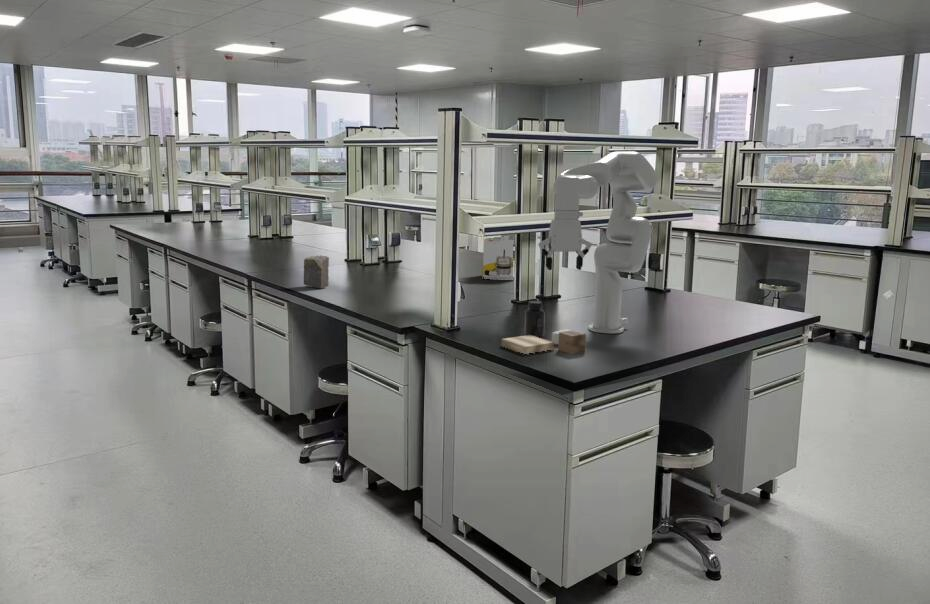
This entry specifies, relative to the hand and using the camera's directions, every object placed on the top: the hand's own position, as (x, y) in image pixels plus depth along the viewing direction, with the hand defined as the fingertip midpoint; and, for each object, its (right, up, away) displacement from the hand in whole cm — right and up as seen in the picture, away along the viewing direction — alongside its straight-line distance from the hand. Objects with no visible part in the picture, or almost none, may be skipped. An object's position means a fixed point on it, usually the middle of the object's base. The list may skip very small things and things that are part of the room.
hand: (564, 269), depth 225 cm
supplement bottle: (-8, -23, +19) cm, 31 cm away
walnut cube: (+2, -26, 0) cm, 26 cm away
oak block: (-12, -26, +2) cm, 28 cm away
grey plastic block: (+3, -25, +10) cm, 27 cm away
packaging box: (-14, +2, +148) cm, 148 cm away
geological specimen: (-102, -4, +106) cm, 147 cm away
